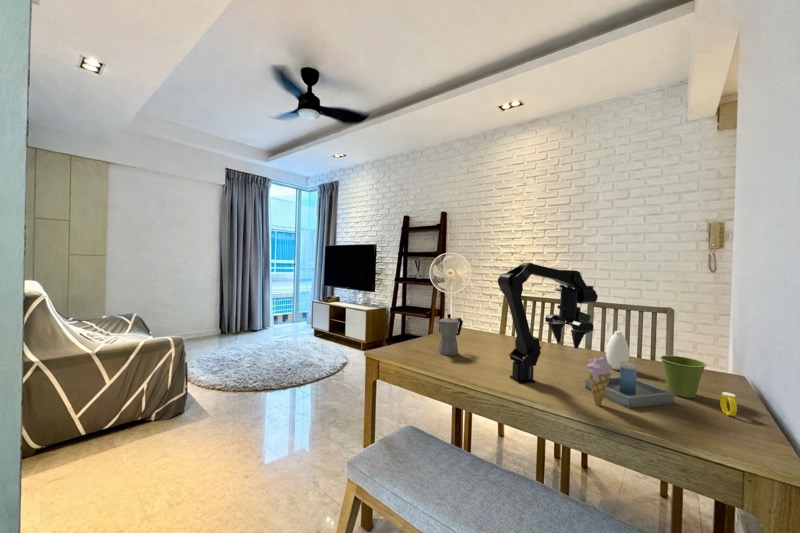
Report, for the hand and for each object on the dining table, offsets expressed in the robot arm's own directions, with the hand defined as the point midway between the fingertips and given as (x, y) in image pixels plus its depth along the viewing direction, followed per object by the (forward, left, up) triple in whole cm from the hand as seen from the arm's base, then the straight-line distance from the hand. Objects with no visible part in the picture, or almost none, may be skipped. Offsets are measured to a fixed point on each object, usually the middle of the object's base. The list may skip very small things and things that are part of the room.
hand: (567, 345), depth 124 cm
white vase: (+27, +3, -12) cm, 30 cm away
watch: (+24, -36, -12) cm, 45 cm away
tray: (+7, -19, -12) cm, 23 cm away
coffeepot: (-31, +38, -12) cm, 50 cm away
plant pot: (+26, -22, -12) cm, 36 cm away
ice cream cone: (-9, -23, -12) cm, 27 cm away
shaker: (+7, -19, -11) cm, 23 cm away
